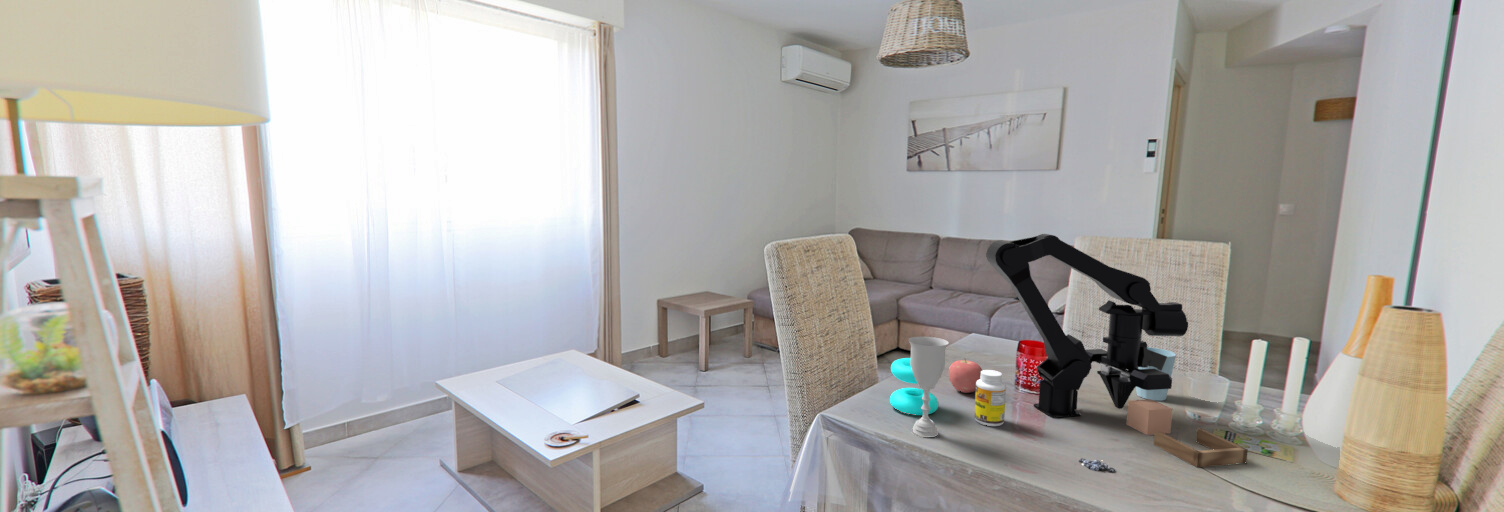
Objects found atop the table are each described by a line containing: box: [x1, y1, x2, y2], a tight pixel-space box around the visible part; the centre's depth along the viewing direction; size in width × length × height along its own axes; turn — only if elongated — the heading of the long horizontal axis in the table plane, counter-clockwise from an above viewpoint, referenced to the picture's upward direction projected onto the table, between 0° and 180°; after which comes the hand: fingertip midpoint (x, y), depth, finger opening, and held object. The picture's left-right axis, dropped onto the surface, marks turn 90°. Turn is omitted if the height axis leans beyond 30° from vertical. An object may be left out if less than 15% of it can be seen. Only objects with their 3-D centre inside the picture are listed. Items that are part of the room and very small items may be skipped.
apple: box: [948, 357, 983, 394], centre depth 133 cm, size 7×7×8 cm
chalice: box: [908, 336, 949, 436], centre depth 110 cm, size 7×7×18 cm
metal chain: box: [1078, 457, 1116, 474], centre depth 98 cm, size 7×8×2 cm
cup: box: [1135, 346, 1177, 402], centre depth 130 cm, size 8×8×10 cm
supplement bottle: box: [974, 369, 1007, 427], centre depth 116 cm, size 6×6×10 cm
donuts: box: [889, 357, 939, 416], centre depth 123 cm, size 10×10×10 cm
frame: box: [1153, 427, 1249, 468], centre depth 102 cm, size 10×9×2 cm
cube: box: [1126, 399, 1173, 436], centre depth 113 cm, size 5×5×5 cm
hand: (1119, 408), depth 120 cm, fingers closed
